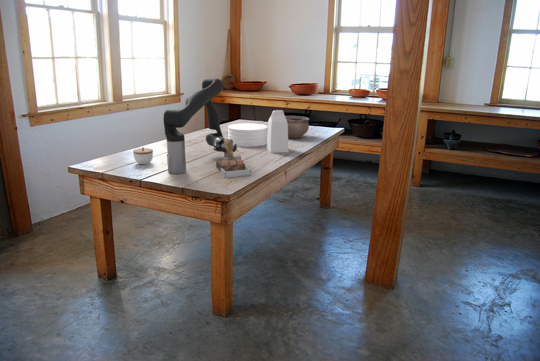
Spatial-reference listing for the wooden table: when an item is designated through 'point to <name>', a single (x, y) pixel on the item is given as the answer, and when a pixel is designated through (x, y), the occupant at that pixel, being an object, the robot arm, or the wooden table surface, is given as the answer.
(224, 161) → the tile left
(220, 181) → the wooden table surface
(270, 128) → the milk
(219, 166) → the board
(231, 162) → the tile mid
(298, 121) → the ceramic bowl
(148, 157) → the lidded jar
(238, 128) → the plate stack
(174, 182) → the wooden table surface
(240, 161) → the tile right
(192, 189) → the wooden table surface
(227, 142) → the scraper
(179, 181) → the wooden table surface
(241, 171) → the tray
